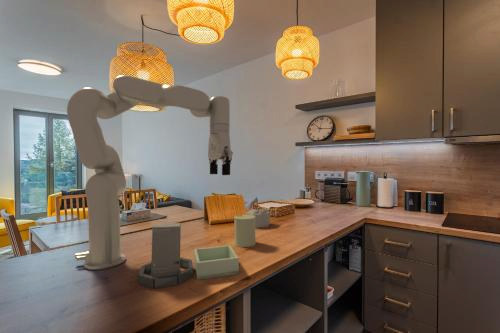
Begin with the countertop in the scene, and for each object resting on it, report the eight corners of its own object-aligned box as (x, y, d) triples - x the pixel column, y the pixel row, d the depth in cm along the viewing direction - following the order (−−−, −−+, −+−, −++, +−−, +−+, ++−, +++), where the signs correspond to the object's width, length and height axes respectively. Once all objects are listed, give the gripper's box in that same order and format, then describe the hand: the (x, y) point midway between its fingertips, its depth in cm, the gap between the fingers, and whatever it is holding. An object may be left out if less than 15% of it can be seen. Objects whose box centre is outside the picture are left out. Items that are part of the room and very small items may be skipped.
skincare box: (151, 282, 72) (150, 228, 71) (153, 271, 78) (152, 222, 78) (181, 278, 74) (180, 225, 74) (181, 268, 81) (180, 220, 80)
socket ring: (136, 291, 66) (135, 282, 66) (143, 268, 81) (143, 260, 81) (194, 282, 71) (194, 274, 71) (191, 262, 86) (190, 255, 86)
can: (243, 239, 112) (243, 212, 112) (260, 242, 106) (259, 215, 106) (229, 244, 105) (229, 216, 104) (246, 248, 99) (245, 219, 99)
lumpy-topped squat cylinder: (244, 224, 138) (244, 209, 138) (263, 221, 144) (263, 207, 144) (253, 229, 129) (253, 212, 129) (274, 225, 135) (273, 209, 135)
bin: (197, 279, 73) (197, 263, 73) (194, 263, 85) (194, 249, 85) (238, 273, 76) (238, 257, 76) (230, 258, 88) (229, 245, 88)
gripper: (201, 131, 99) (201, 174, 99) (222, 126, 85) (222, 175, 85) (217, 133, 103) (217, 173, 104) (240, 128, 89) (240, 175, 90)
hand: (219, 174), depth 94 cm, fingers open, 9 cm apart
